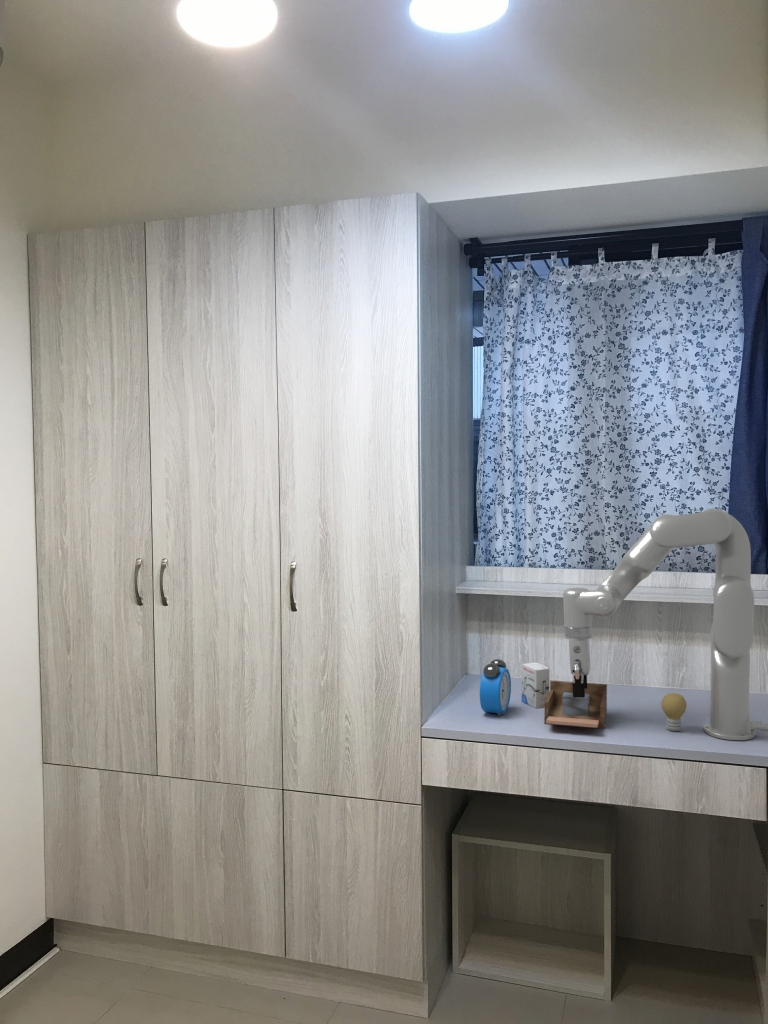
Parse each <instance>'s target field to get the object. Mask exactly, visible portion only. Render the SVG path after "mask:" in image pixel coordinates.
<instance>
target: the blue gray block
mask: <svg viewBox="0 0 768 1024" xmlns="http://www.w3.org/2000/svg"><path fill="white" fill-rule="evenodd" d="M589 696H590V694H585V697H584V698H579V697H573V693H567V692H564V694H563V696H562V699H563V714H564V715H577V716H588V715H589Z"/></svg>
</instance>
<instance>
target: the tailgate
mask: <svg viewBox="0 0 768 1024" xmlns="http://www.w3.org/2000/svg"><path fill="white" fill-rule="evenodd" d="M546 723H549V724H548V725H552V724H561V725H560V726H564V725H573V726H572V727H576V726H585V727H584V728H588V727H598V724H599V720H588V719H576V718H563V717H551V716H549V717H548V718H547V720H546Z"/></svg>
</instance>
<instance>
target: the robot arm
mask: <svg viewBox="0 0 768 1024" xmlns="http://www.w3.org/2000/svg"><path fill="white" fill-rule="evenodd" d="M706 545H714V548H715V578H714V580H715V581H714V586H713V593H712V595H713V609H712V610H713V611H712V612H713V613H712V617H713V618H712V625H711V628H710V706H709V707H710V710H709V711H710V713H709V714H710V716H709V717H710V719H709V720H710V721H709V723H706V724H704V726H703V731H704V733H706V734H707V735H709V736H711V737H714V738H718V739H721V740H726V741H727V740H729V741H748V740H752V739H754V738H755V737H756V730H758V731H759V730H760V731H767V732H768V723H767V722H763V721H762V720H753V719H751V716H750V678H751V651H750V650H751V648H752V645H753V641H754V640H753V639H754V622H755V594H754V590H753V588H752V586H751V585H752V584H751V579H752V578H751V576H752V575H751V574H752V570H751V569H752V567H751V566H752V563H751V560H752V557H751V556H752V555H751V553H752V551H751V542H750V539H749V536H748V533H747V531H746V530H745V528H744V527H743V525H742V524H741V522H740V521H739V520H737V519H736V518H735V517H734V516H733V515H731V514H730V513H728V512H726V511H725V510H721V509H719V508H708V509H705V510H703V511H701V512H700V511H699V512H693V513H687V514H678V515H674V514H673V515H672V514H668V513H667V514H662V515H660V516H658V517H657V518H655V520H654V521H653V522H652V523H651V524H650V525H649V526H648V528H647V529H645V531H644V532H643V533H642V534H641V536H640V537H639V538H638V539H637V540H636V542H635V543H633V545H632V546H631V547H630V548H629V549H628V551H626V553H625V554H624V555H623V557H622V559H621V560H620V562H619V563H618V564H617V565H616V567H615V568H614V570H612V572H611V573H610V574H608V576H607V577H606V578H605V579H604V581H603V582H602V583H601V584H600V585H599V586H598V587H597V588H596V589H595V590H589V589H588V588H584V587H570V588H566V589H564V591H563V594H562V598H563V599H562V600H563V620H564V621H563V626H564V630H563V631H564V639H566V640H568V649H569V652H568V653H569V654H568V655H569V666H570V674H571V675H572V682H573V683H572V685H573V697H579V698H584V697H585V689H587V683H588V675H589V674H590V671H591V655H590V642H589V641H590V640H591V639H592V638H593V630H592V629H593V625H592V616H597V617H610V616H612V615H614V614H615V612H617V610H618V608H619V606H620V605H621V603H622V602H623V601H624V600H625V599H626V598H627V596H628V595H629V594H630V593H631V592H632V591H633V590H634V589H635V588H636V587H637V586H638V584H640V583H641V582H642V581H644V580H645V579H646V578H648V577H650V575H651V574H652V573H653V572H654V571H655V570H656V569H657V567H658V566H660V565H661V563H662V562H663V560H665V558H667V557H668V556H669V554H670V553H671V552H672V550H673V549H676V548H689V547H696V546H706Z"/></svg>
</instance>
